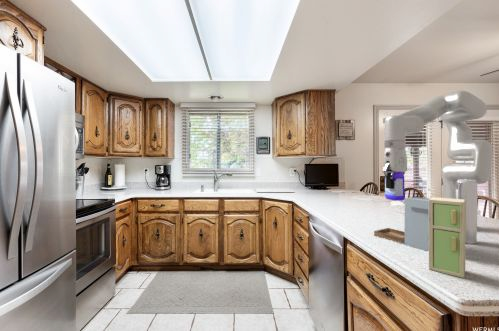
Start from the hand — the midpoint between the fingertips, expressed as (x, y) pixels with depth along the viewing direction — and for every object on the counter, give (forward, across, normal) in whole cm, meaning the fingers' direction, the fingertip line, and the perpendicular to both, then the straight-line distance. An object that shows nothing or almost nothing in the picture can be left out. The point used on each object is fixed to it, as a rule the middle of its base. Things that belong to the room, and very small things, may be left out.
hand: (394, 187), depth 99 cm
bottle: (+5, 0, 0) cm, 5 cm away
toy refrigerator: (+21, -18, -25) cm, 38 cm away
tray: (+21, 0, 0) cm, 21 cm away
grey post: (+21, +20, -17) cm, 34 cm away
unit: (+21, -2, -13) cm, 25 cm away
